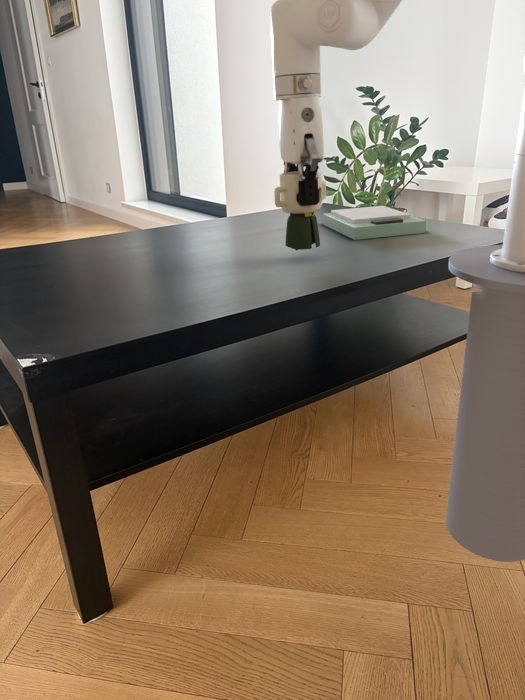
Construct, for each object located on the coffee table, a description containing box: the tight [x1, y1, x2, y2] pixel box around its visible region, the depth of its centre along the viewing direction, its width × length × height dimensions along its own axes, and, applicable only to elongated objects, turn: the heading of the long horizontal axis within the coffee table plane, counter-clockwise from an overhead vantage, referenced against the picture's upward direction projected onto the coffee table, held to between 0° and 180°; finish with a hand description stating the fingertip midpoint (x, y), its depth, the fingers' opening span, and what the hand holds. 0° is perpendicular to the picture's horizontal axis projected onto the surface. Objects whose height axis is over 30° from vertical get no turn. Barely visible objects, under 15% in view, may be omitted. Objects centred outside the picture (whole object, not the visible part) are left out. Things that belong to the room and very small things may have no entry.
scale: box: [322, 205, 427, 241], centre depth 120 cm, size 18×16×3 cm
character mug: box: [273, 170, 327, 251], centre depth 95 cm, size 11×7×13 cm, turn 124°
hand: (301, 201), depth 95 cm, fingers closed on character mug, 7 cm apart
